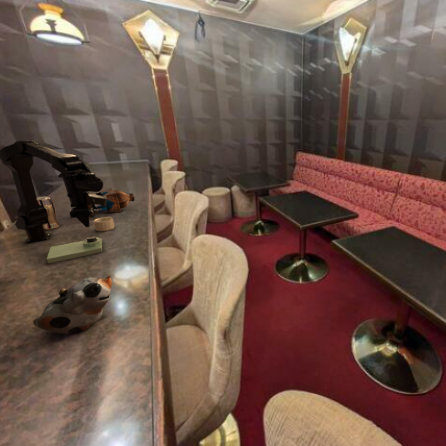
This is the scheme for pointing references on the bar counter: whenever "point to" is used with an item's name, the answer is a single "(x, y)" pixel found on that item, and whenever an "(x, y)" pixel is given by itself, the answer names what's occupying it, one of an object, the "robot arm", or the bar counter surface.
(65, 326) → the lucky cat figurine
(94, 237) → the tare button
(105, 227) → the bowl
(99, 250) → the scale
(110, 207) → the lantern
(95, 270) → the bar counter surface
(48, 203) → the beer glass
